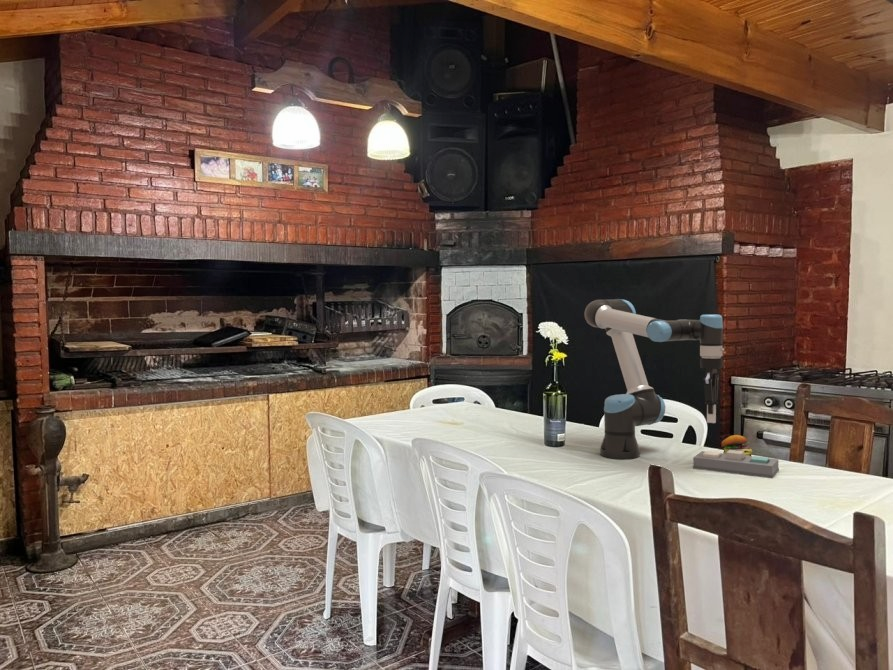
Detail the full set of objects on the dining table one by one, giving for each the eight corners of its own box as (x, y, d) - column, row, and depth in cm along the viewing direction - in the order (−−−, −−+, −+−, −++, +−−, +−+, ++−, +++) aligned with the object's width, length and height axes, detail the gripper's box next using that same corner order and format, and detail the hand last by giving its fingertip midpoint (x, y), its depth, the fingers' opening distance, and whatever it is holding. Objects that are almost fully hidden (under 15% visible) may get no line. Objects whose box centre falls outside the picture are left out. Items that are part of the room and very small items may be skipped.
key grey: (726, 462, 234) (726, 452, 234) (729, 459, 238) (729, 449, 238) (741, 463, 231) (741, 454, 231) (744, 461, 235) (744, 451, 235)
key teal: (750, 468, 229) (750, 458, 229) (753, 465, 233) (753, 456, 233) (766, 470, 226) (766, 460, 226) (769, 467, 230) (769, 457, 230)
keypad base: (692, 468, 237) (692, 457, 237) (701, 461, 247) (701, 451, 247) (772, 478, 222) (772, 466, 222) (778, 470, 232) (778, 459, 232)
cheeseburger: (736, 462, 244) (731, 435, 246) (717, 463, 254) (713, 437, 256) (759, 459, 247) (754, 433, 249) (739, 460, 257) (735, 434, 259)
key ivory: (702, 463, 238) (702, 453, 238) (706, 460, 243) (706, 451, 242) (717, 465, 236) (717, 455, 235) (720, 462, 240) (720, 452, 239)
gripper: (717, 359, 230) (717, 426, 231) (726, 356, 241) (726, 420, 242) (695, 358, 234) (695, 424, 235) (705, 355, 245) (705, 418, 246)
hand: (711, 422), depth 239 cm, fingers closed
